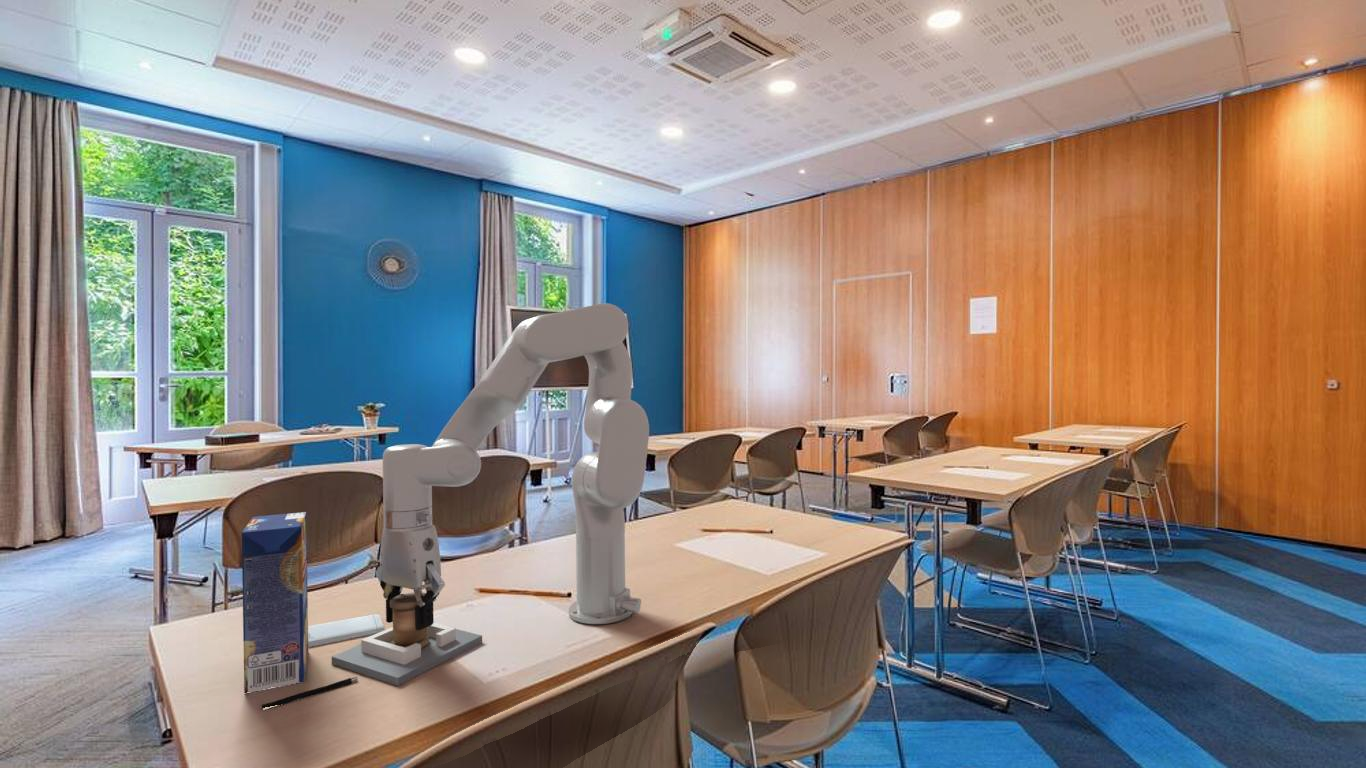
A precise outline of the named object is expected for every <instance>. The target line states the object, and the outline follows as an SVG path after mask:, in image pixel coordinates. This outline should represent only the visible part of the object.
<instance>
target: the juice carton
mask: <svg viewBox="0 0 1366 768" xmlns="http://www.w3.org/2000/svg"><path fill="white" fill-rule="evenodd" d="M307 529H308V528H307V511H302V512H301V511H300V512H292V513H282V514H281V513H279V514H272V515H271V514H269V515H259V516H253V517H252V518H251V519H250V520H249V522H248V523H247V524H246V526H245V528H244V529H243V530H242V532H241V568H242V571H241V574H242V575H241V576H242V580H241V581H242V625H243V626H242V628H243V630H242V632H243V634H242V635H243V637H242V639H243V641H242V642H243V691H244V692H243V693H247V692H254V691H259V690H263V689H268V688H271V687H279V686H283V687H285V686H284V685H288V686H291V684H293V685H297V684H296V683H298V684H301V683H304V681H305V677H306V670H307V664H308V663H307V662H308V659H309V658H308V657H309V647H308V626H309V614H308V613H309V612H308V611H309V609H308V607H309V605H308V604H309V603H308V601H309V600H308V599H309V598H308V547H307V546H308V544H307V543H308V537H307V536H308V531H307ZM279 688H280V687H279ZM259 692H260V691H259ZM254 693H255V692H254Z"/></svg>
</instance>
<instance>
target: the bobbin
mask: <svg viewBox="0 0 1366 768" xmlns="http://www.w3.org/2000/svg"><path fill="white" fill-rule="evenodd" d="M422 593H423V596H424V595H425V594H426V593H427V592H422ZM401 594H402V595H398V596H396V597H394V598H392V599H391V600H390V608H392V610H393V622H392V627H393V641H392V642H391V644H394V645H397V646H401V647H404V648H406V647H408V646H410V645H413V644H415V643H418V644H421V649H423V648H425V647H426V646H428V644H429V636H428V635H427V627H426V628H424V629H422V630H416V628H415V606H418V603H417V600H416V596H415V593H414V591H413V592H406V593H401Z"/></svg>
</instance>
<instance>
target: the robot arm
mask: <svg viewBox="0 0 1366 768" xmlns="http://www.w3.org/2000/svg"><path fill="white" fill-rule="evenodd" d="M628 331H629V321H628V318H627V316H626V314H625V312H624V311H623V310H622V308H620V307H619V306H616V305H614V304H612V303H608V302H607V303H605V302H604V303H602V302H600V303H596V304H592V305H588V306H582V307H578V308H574V309H570V310H564V311H559V312H552V313H547V314H541V315H536V316H533V317H531V318H527V319H525V320H522V321H521V322H520V323H519V324H518V325H517V326H516V328H515V329H514V330H513V331H512V332H511V334H510V335H509V337H508V339H507V340H506V341H505V343H504V344H503V346H502V347H501V349H500V350H499V352H498V353H497V355H496V356H495V358H494V359H493V361H492V363H491V364H490V365H489V366H488V367H487V370H486V371H485V372H484V374H483V375H482V377H481V378H480V380H479V381H478V382H477V384H475V385H474V388H472V390H471V391H470V392H469V394H468V395H467V397H465V399H464V401H463V402H462V403H461V404H460V405H459V407H458V408H457V409H456V411H455V412H454V413H453V415H452V416H451V417H450V419H449V421H448V422H447V423H446V425H445V426H444V427H443V429H442V430H441V432H440V433H439V435H438V436H437V438H436V439H435V441H434V442H433V444H432V445H431V446H427V445H424V444H419V443H414V444H413V443H411V444H397V445H392V446H389V447H387V448H385V449H384V450H383V453H382V496H383V499H382V500H383V501H382V502H383V506H382V508H383V510H382V511H383V513H382V514H383V516H382V517H383V528H382V533H381V542H380V553H379V554H380V555H379V557H380V558H379V561H380V562H379V567H378V568H377V569H376V571H375V576H376V578H377V580H378V582H379V586H380V587H381V589H382V591H383V593H382V596H383V598H384V599H385V621H386V623H388V624H389V623H390V624H391V623H393V610H392V608H390V600H391V599H392V598H394V597H396V596H398V595H402V594H403V593H402V591H403V589H410V590H413V592H414V593H415V596H416V600H417V603H418V606H415V628H416V630H422V629H424V628H426V627H428V626H431V625H432V624H433V623H435V622H434V621H435V619H434V602H436V601H437V597H438V596H439V595H440V592H441V591H442V590H443V589H444V588H445V586H446V585H445V584H446V582H445V580H443V578H442V565H441V552H440V550H441V549H440V543H439V538H438V532H437V529H436V526H435V525H434V524H433V519H434V518H433V494H432V493H433V489H432V487H450V488H451V487H455V488H456V487H457V488H458V487H462V486H465V485H468V484H470V483H472V482H473V481H474V480H475V479H476V478H477V477H478V475H479V473H480V472H481V468H482V460H481V456H480V454H479V453H478V451H479V448H480V447H481V446H482V444H483V443H484V441H485V439H486V438H487V437H488V436H489V434H490V433H491V432H492V431H493V430H494V429H495V428H496V427H497V426H498V425H499V424H500V423H501V422H502V421H504V420H505V419H507V418H508V417H510V416H511V415H513V414H514V413H515V412H517V410H519V408H520V407H521V406H522V404H523V403H524V402H525V400H526V398H527V397H528V395H529V394H530V393H531V391H532V389H533V387H534V386H535V385H536V382H538V379H539V378H540V376H541V375H542V374H543V372H544V371H545V369H546V368H547V366H548V365H549V363H553V362H559V361H565V360H570V359H574V358H579V357H583V356H584V358H585V360H586V362H587V366H588V386H587V396H586V403H585V409H584V410H585V411H584V419H583V430H584V433H585V435H586V436H587V437H588V439H589V440H590V441H591V442H593V443H596V444H598V451H593V452H592V451H591V452H589V453H587V454H585V455H583V456H582V457H581V458H580V459H579V460H578V461H577V463H576V464H575V466H574V468H573V471H572V478H571V484H572V485H571V486H572V487H571V488H572V494H573V499H574V500H573V501H574V510H575V526H576V527H575V531H576V533H575V541H576V542H575V547H576V548H575V549H576V550H575V554H576V558H575V559H576V560H575V561H576V562H575V563H576V564H575V566H576V601H574V602H573V603H572V604H571V605H570V606H569V608H568V615H569V617H570V619H572V620H573V621H574V622H577V623H581V624H587V625H607V624H611V623H612V624H613V623H617V622H620V621H623V620H625V619H627V618H629V617H630V616H631V615H632V614H634V613H635V614H639V612H640V611H641V605H642V599H641V598H639V597H638V598H637V597H632V596H631V588H627V587H626V541H625V540H626V535H625V533H626V523H625V522H626V521H625V510H624V509H625V508H627V507H629V506H630V505H633V503H635V502H636V500H637V499H638V498H639V496H640V493H641V492H642V490H643V489H642V488H643V486H644V481H645V473H646V465H647V458H648V446H649V439H650V437H649V436H650V424H649V419H648V416H647V413H646V410H645V409H644V408H643V407H642V405H640V404H639V403H638V402H637V401H635V400H632V399H631V398H632V381H633V367H632V366H633V365H632V360H631V357H630V354H629V352H628V349H627V347H626V345H625V343H623V341H624V340H625V339H626V337H627V336H628ZM423 583H424V584H423ZM422 590H425V593H426V594H425V595H424V596H423V593H424V592H423V591H422Z"/></svg>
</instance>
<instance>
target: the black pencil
mask: <svg viewBox="0 0 1366 768" xmlns="http://www.w3.org/2000/svg"><path fill="white" fill-rule="evenodd" d="M354 683H358V677H357V676H355V677H349V678H346V679H342V680H339V681H336V682H333V683H331V684H328V685H325V686H319V687H317V688H313V689H309V690H306V691H302V692H299V693H295V694H292V695H288V696H286V697H283V698H279V699H277V700H274V701H271V702H267V703H262V704H261V709H262V708H265V707H270V706H275V705H280V706H282V705H281V704H283V705H285V703H286V704H288V703H291V702H295V701H298V700H297V699H299V700H302V699H306V698H309V697H313V696H317V695H319V694H323V693H327V692H330V691H333V690H335V689H338V688H341V687H343V686H348V685H352V684H354ZM305 697H306V698H305ZM301 698H302V699H301ZM294 700H295V701H294Z"/></svg>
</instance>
